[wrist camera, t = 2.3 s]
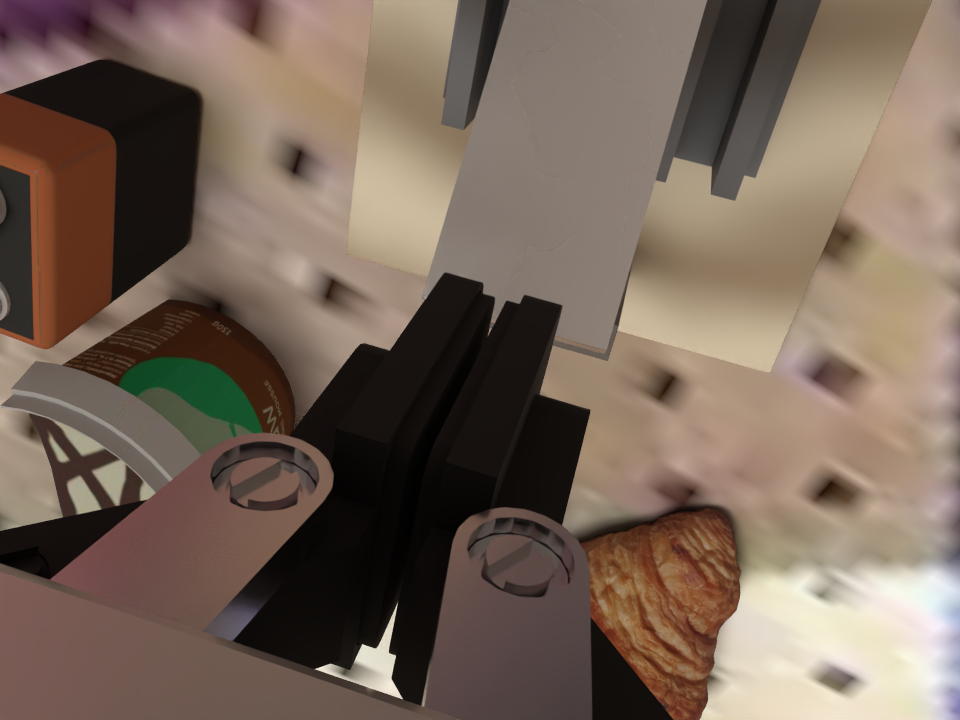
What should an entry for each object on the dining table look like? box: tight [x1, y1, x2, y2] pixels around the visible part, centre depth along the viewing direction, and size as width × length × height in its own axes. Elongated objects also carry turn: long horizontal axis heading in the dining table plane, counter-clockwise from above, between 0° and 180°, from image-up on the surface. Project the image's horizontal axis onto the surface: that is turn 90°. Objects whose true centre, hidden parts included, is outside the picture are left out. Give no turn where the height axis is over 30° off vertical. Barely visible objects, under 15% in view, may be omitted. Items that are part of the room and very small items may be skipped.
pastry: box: [580, 508, 741, 720], centre depth 39 cm, size 17×15×8 cm
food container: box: [1, 300, 295, 517], centre depth 35 cm, size 12×6×10 cm, turn 4°
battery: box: [0, 60, 199, 349], centre depth 30 cm, size 4×7×10 cm, turn 164°
